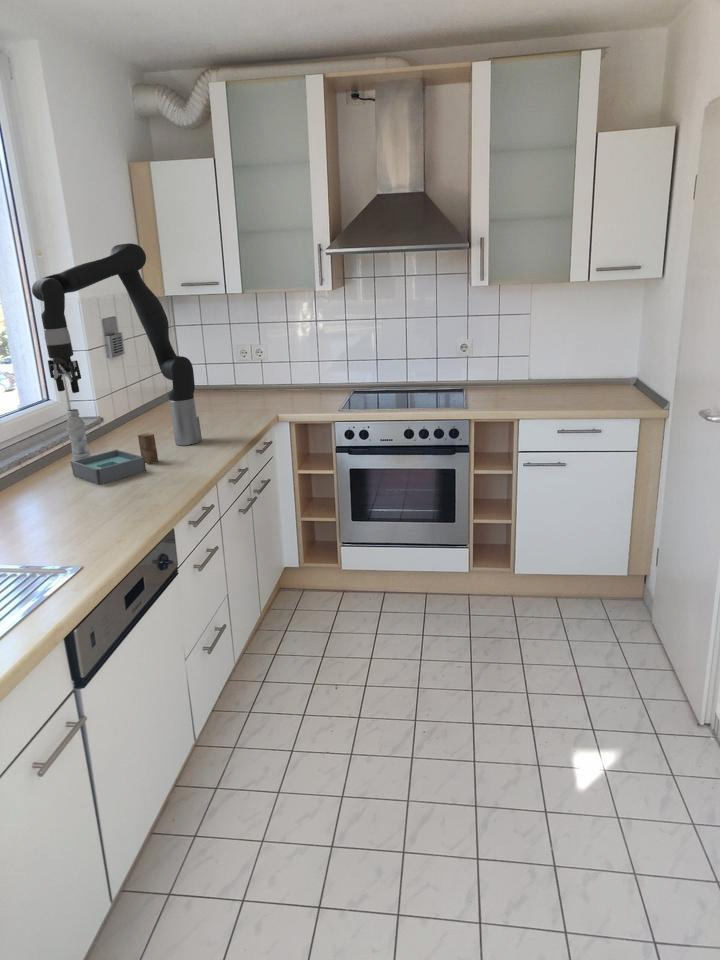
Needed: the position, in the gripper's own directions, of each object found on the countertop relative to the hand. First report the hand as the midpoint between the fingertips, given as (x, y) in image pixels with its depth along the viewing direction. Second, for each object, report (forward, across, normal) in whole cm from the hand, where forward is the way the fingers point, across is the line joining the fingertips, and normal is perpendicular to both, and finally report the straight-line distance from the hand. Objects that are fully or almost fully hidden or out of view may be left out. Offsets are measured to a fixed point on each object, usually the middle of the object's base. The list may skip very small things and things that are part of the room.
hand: (68, 391), depth 233 cm
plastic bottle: (+28, +8, -4) cm, 29 cm away
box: (+28, -10, -3) cm, 30 cm away
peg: (+28, -12, -18) cm, 36 cm away
